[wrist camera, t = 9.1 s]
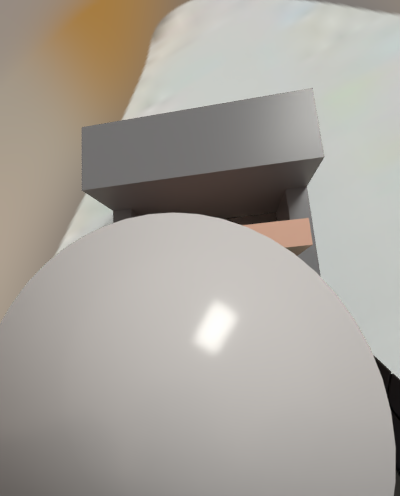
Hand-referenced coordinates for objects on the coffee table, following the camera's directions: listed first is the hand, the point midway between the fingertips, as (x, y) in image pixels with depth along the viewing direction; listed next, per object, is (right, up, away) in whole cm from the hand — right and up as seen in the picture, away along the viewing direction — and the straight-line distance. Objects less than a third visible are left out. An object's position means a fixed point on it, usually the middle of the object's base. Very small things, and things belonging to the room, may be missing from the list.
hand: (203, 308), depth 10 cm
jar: (+1, -3, +7) cm, 7 cm away
